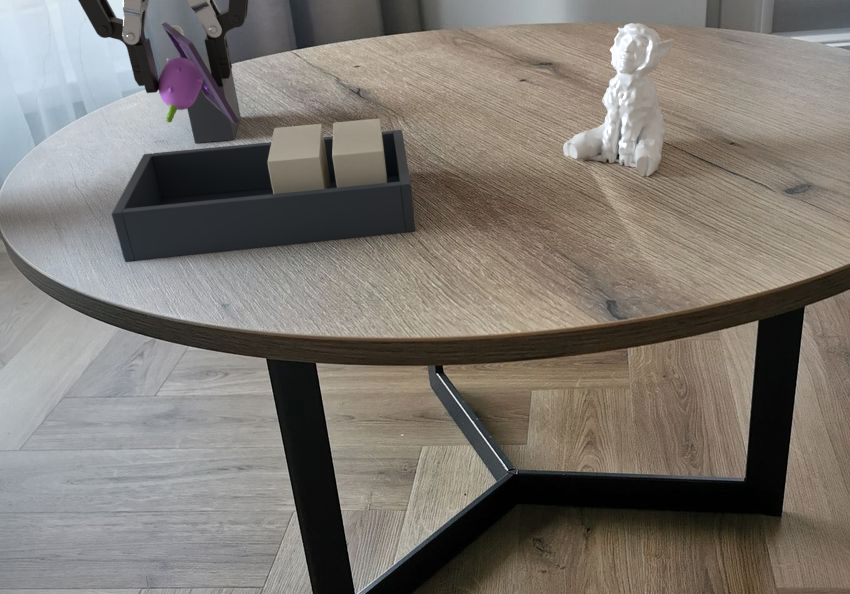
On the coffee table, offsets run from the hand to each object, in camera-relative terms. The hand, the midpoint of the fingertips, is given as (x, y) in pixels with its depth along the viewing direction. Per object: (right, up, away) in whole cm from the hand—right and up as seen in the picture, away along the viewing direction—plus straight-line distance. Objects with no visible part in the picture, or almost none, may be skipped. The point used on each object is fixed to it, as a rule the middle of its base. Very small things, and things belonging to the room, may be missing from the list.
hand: (187, 86), depth 75 cm
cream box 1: (+8, -9, +6) cm, 13 cm away
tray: (+6, -10, +7) cm, 13 cm away
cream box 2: (+13, -8, +7) cm, 17 cm away
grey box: (-6, +3, +29) cm, 30 cm away
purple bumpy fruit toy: (0, -2, +1) cm, 3 cm away
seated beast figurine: (+36, -3, +16) cm, 40 cm away
